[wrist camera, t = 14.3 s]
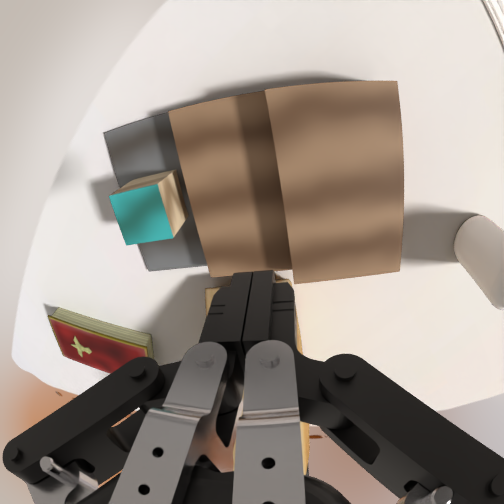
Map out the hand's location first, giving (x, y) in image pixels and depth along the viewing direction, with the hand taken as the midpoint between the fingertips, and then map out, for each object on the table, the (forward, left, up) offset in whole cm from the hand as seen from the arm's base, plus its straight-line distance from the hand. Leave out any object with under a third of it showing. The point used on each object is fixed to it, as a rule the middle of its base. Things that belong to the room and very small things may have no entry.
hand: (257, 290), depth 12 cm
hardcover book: (+27, -36, -25) cm, 51 cm away
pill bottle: (+13, +28, -24) cm, 39 cm away
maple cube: (+2, -14, -17) cm, 22 cm away
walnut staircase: (+2, -3, -24) cm, 24 cm away
